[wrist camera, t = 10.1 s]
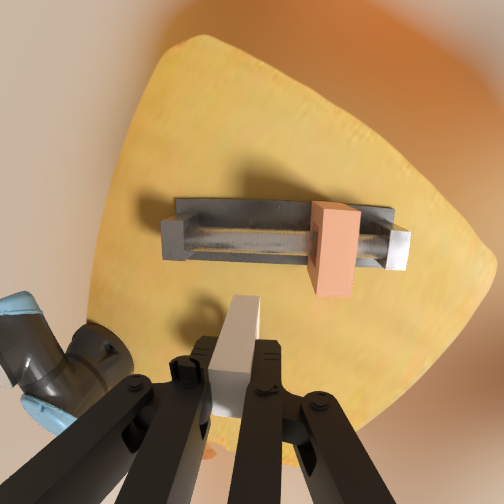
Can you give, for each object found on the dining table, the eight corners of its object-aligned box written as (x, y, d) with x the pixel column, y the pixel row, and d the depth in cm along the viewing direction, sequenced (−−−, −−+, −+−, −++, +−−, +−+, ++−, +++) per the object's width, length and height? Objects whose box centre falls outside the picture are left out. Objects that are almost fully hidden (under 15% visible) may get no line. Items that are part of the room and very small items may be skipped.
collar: (307, 268, 38) (316, 296, 29) (311, 200, 36) (323, 208, 27) (334, 269, 38) (350, 297, 29) (340, 202, 35) (360, 211, 26)
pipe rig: (179, 257, 41) (159, 275, 34) (177, 199, 38) (155, 204, 31) (385, 266, 38) (406, 285, 31) (393, 208, 36) (417, 216, 29)
